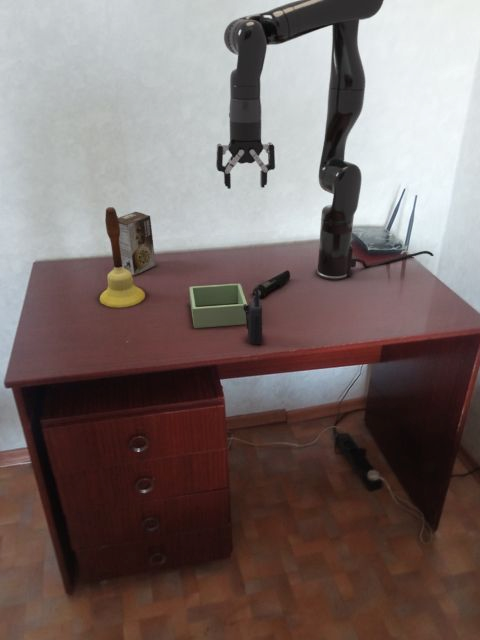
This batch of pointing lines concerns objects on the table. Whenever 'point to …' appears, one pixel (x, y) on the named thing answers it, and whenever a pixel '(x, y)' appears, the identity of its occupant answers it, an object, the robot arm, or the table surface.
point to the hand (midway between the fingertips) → (245, 187)
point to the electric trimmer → (272, 283)
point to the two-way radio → (254, 319)
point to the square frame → (217, 314)
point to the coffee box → (136, 242)
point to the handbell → (118, 271)
